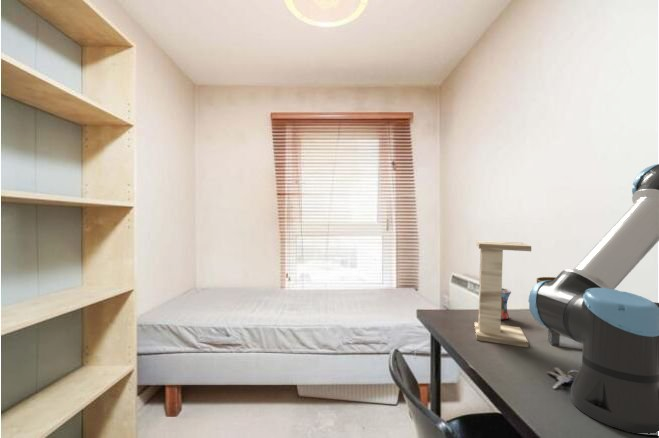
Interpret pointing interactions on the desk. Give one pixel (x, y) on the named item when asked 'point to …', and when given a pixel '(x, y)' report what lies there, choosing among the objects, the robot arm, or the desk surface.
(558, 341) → the metal block
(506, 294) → the multicoloured narrow piece
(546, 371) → the desk surface
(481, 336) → the birch stand
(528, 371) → the desk surface
